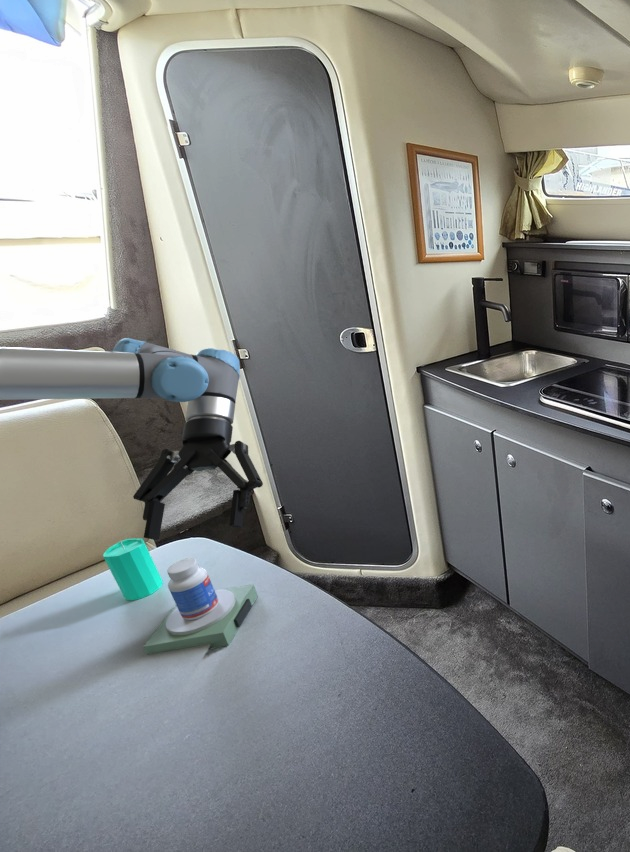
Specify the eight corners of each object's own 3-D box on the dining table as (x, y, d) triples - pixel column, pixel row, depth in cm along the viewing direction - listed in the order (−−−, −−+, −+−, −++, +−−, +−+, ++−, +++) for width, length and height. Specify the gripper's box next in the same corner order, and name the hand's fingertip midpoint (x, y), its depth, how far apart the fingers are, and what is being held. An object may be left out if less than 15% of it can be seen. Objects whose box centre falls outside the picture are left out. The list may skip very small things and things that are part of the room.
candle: (145, 600, 96) (120, 550, 92) (115, 600, 97) (89, 551, 92) (170, 578, 102) (148, 530, 97) (142, 579, 102) (119, 531, 98)
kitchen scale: (149, 659, 83) (141, 643, 82) (189, 607, 94) (182, 592, 93) (231, 645, 85) (224, 628, 84) (260, 595, 96) (254, 580, 95)
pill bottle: (222, 608, 88) (204, 564, 85) (185, 626, 85) (164, 581, 81) (215, 593, 92) (197, 551, 88) (179, 610, 88) (159, 566, 85)
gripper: (287, 423, 103) (279, 525, 94) (151, 438, 98) (130, 546, 90) (269, 409, 96) (259, 517, 88) (122, 424, 91) (97, 540, 83)
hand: (194, 532), depth 89 cm, fingers open, 13 cm apart
